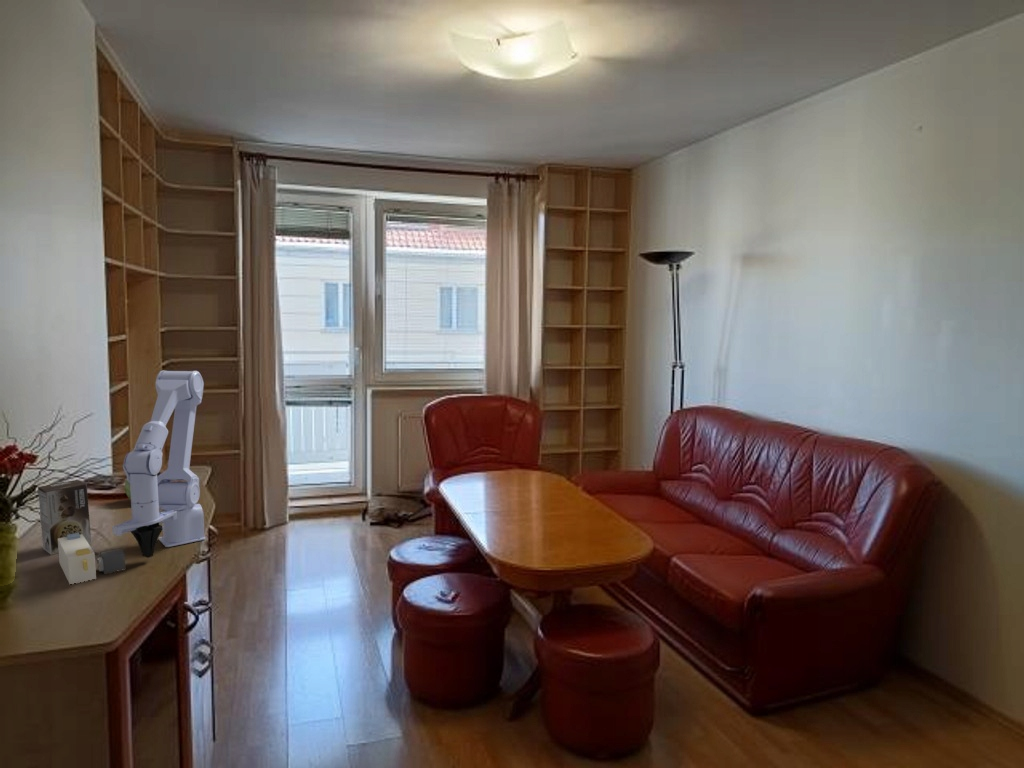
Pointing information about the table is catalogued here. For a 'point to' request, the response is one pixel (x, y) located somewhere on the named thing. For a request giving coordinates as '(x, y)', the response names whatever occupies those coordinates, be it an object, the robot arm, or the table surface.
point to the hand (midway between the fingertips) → (147, 556)
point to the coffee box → (63, 512)
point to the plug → (111, 561)
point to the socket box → (76, 558)
